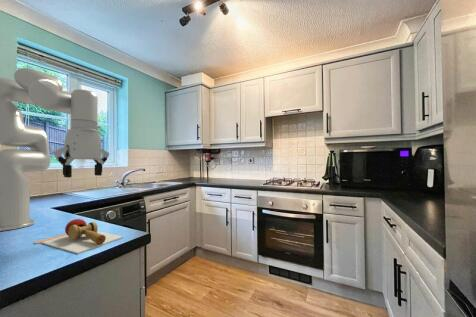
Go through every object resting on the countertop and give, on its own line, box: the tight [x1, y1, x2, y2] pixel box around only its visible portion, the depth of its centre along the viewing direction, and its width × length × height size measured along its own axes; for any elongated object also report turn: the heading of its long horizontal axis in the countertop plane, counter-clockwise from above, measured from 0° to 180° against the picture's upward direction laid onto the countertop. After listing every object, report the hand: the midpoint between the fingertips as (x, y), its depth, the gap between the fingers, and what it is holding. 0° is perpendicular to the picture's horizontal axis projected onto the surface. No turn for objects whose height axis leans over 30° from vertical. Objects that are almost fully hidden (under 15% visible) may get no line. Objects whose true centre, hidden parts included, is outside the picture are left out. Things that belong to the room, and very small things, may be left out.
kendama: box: [64, 218, 106, 245], centre depth 70 cm, size 8×6×18 cm
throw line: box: [33, 233, 67, 245], centre depth 76 cm, size 2×16×1 cm, turn 155°
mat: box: [40, 230, 124, 255], centre depth 71 cm, size 20×14×1 cm
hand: (83, 176), depth 74 cm, fingers open, 9 cm apart
